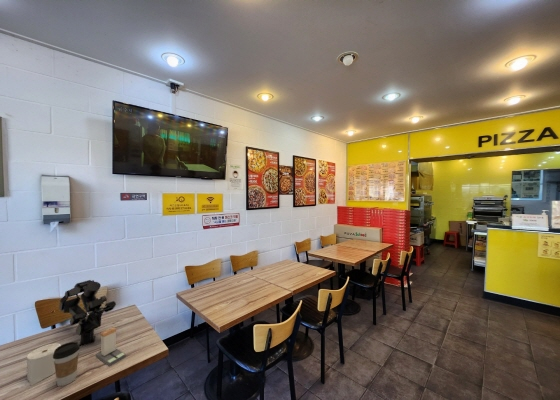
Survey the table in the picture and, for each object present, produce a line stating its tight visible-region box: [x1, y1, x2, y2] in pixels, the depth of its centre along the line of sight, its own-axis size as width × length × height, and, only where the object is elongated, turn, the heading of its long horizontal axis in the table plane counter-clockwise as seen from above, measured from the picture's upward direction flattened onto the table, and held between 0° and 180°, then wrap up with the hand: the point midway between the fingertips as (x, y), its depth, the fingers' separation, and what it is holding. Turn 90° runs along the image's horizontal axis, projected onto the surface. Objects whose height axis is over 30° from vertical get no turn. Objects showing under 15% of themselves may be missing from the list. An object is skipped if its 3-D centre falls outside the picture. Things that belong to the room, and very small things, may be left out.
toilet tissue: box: [26, 343, 62, 386], centre depth 100 cm, size 11×12×10 cm
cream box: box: [100, 326, 117, 356], centre depth 110 cm, size 3×5×11 cm, turn 151°
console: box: [95, 348, 127, 367], centre depth 109 cm, size 14×7×2 cm, turn 61°
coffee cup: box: [53, 341, 81, 387], centre depth 95 cm, size 8×8×15 cm
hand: (99, 326), depth 115 cm, fingers closed
